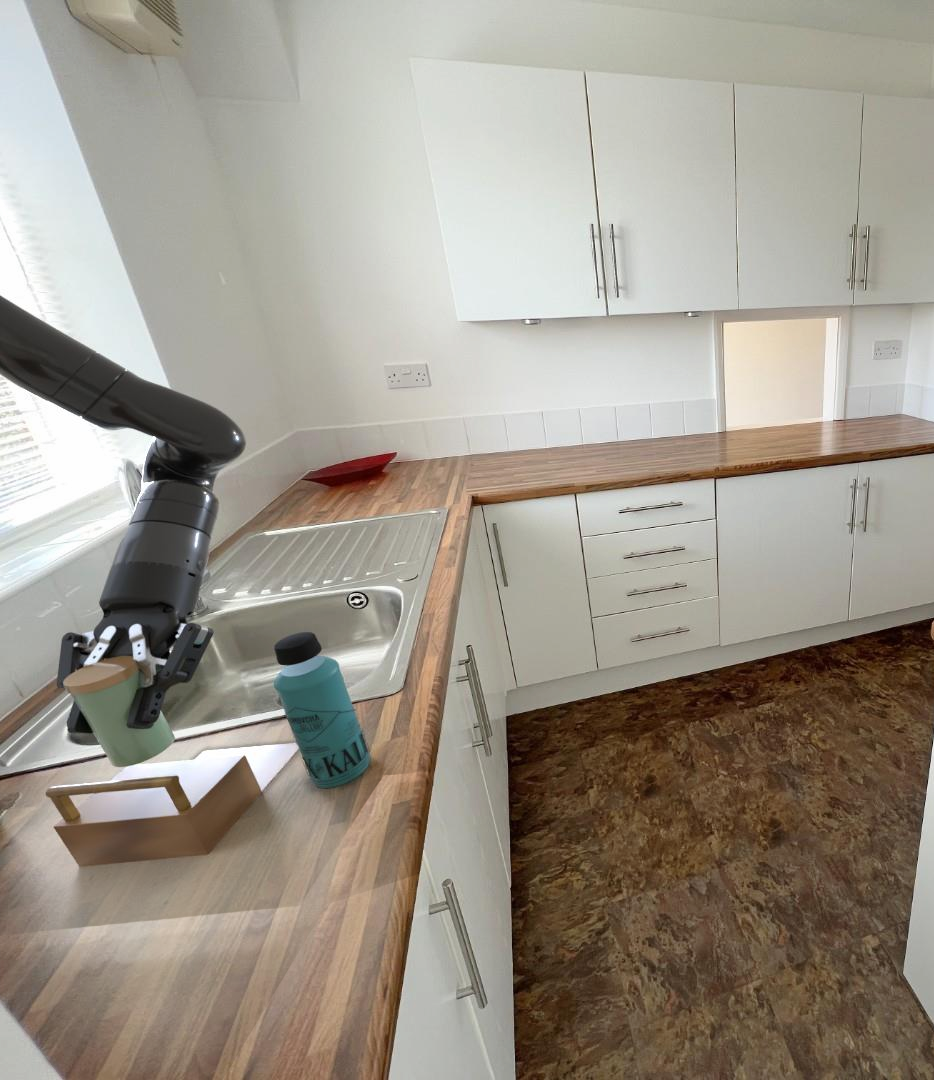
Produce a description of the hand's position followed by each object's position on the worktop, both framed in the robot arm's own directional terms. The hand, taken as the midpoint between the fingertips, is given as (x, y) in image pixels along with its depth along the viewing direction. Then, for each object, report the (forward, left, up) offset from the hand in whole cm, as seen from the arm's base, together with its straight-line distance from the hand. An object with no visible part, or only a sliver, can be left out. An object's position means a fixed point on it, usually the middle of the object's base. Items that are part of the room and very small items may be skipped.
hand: (110, 729), depth 58 cm
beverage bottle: (+14, +8, -16) cm, 23 cm away
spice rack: (0, +5, -16) cm, 17 cm away
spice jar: (0, +2, -4) cm, 4 cm away
